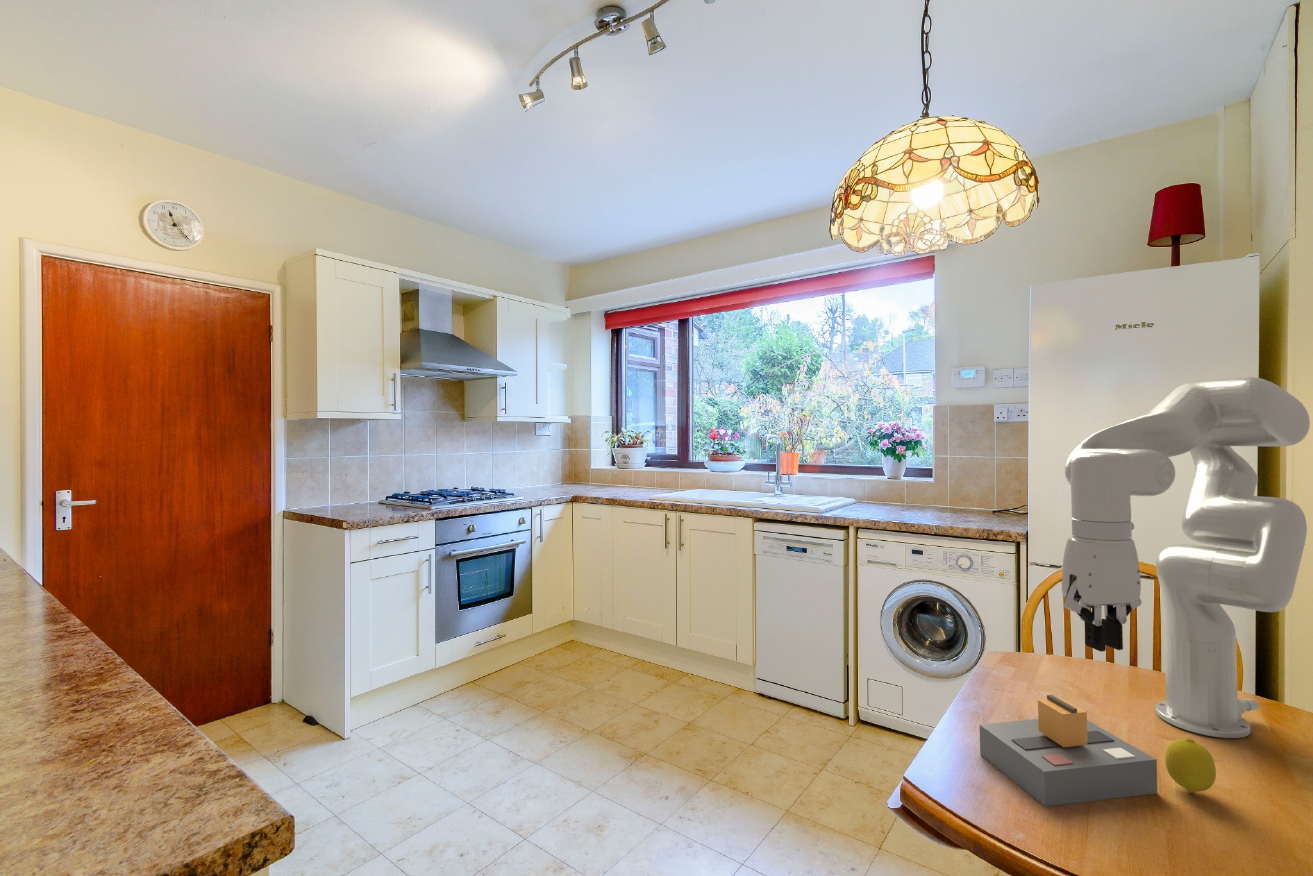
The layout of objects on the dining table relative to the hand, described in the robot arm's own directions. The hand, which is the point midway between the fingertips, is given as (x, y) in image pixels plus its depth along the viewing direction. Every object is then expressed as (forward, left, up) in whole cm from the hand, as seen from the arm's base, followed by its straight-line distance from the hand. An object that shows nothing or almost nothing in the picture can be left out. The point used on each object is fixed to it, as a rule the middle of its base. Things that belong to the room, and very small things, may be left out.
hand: (1103, 646), depth 94 cm
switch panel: (+7, 0, -19) cm, 21 cm away
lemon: (-6, +8, -19) cm, 22 cm away
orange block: (+7, 0, -14) cm, 16 cm away
